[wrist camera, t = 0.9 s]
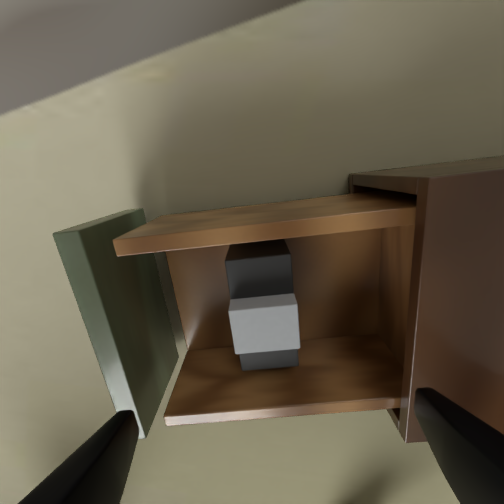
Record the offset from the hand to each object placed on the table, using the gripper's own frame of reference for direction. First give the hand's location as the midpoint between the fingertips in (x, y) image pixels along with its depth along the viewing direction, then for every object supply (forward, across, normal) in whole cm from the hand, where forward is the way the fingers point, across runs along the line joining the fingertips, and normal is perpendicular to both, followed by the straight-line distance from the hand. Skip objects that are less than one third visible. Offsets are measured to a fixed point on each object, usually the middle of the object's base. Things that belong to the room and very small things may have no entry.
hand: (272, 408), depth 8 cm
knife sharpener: (+10, 0, 0) cm, 10 cm away
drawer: (+11, +1, 0) cm, 11 cm away
